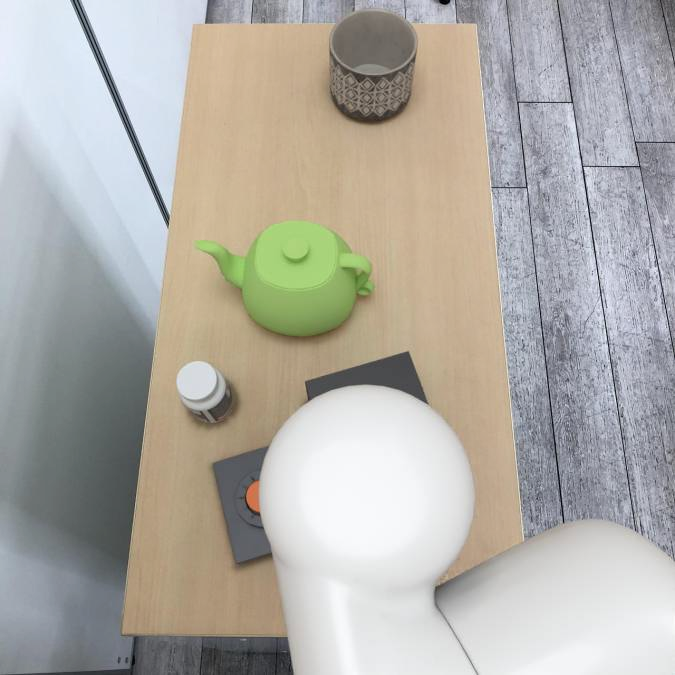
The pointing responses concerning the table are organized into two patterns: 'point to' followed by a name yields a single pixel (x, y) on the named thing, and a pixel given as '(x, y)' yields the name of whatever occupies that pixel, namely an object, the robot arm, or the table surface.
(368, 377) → the drawer cabinet casing
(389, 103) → the planter
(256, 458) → the control pad
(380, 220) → the table surface
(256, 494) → the button
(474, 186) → the table surface
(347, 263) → the teapot
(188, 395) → the pill bottle
